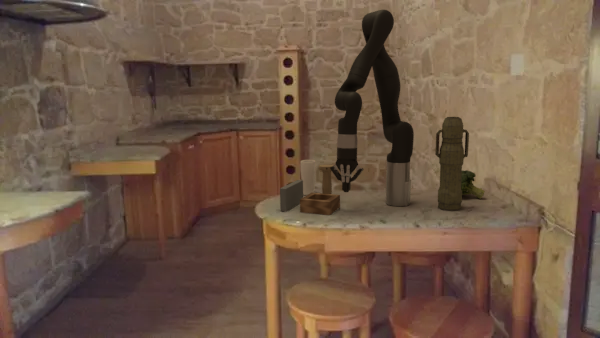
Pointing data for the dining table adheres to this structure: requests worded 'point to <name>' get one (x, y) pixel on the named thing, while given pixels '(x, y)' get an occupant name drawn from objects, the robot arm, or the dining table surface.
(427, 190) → the dining table surface
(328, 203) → the walnut block
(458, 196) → the thermos
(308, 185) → the drinking glass
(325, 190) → the handle
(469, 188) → the vegetable
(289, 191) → the slate wall
